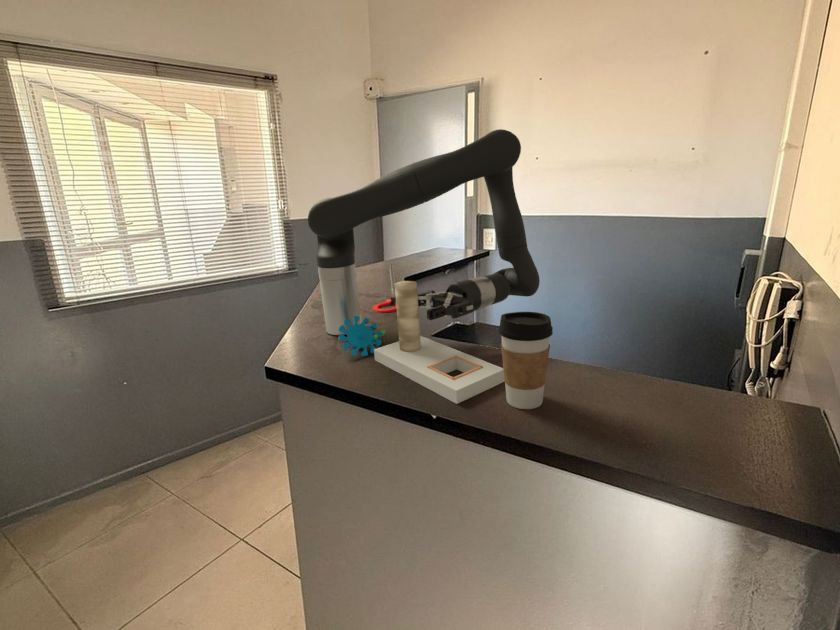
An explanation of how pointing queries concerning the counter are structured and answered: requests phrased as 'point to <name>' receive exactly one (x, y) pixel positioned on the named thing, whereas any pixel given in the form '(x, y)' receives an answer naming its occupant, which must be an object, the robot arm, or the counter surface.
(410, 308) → the peg
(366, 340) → the gear
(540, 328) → the coffee cup
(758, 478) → the counter surface
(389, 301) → the tow hook
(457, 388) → the white peg hole board
